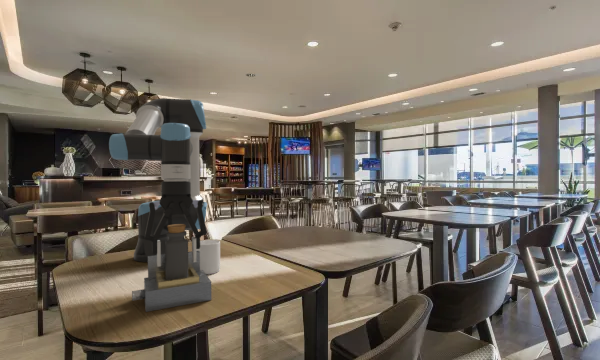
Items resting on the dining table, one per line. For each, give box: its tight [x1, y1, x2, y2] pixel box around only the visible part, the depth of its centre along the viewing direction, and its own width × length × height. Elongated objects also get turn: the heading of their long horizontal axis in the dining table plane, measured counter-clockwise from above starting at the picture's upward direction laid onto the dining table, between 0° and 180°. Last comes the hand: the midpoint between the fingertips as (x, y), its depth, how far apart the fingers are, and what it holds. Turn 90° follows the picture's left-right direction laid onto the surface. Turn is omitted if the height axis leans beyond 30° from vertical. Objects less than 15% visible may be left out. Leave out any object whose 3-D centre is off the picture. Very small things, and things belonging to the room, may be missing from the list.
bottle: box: [165, 224, 189, 280], centre depth 88 cm, size 6×6×15 cm
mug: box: [196, 239, 221, 276], centre depth 111 cm, size 12×8×10 cm
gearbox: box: [131, 250, 212, 313], centre depth 87 cm, size 12×19×11 cm, turn 117°
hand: (176, 262), depth 88 cm, fingers open, 8 cm apart
